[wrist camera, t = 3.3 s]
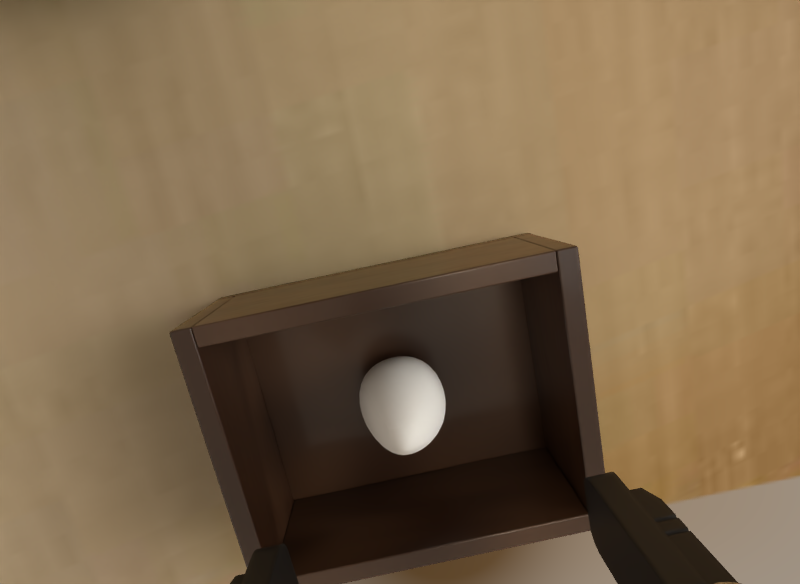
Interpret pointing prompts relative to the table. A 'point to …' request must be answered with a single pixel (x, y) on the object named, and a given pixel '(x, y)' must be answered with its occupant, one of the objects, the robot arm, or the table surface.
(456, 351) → the crate
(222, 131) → the table surface
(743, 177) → the table surface
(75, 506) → the table surface
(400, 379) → the egg
